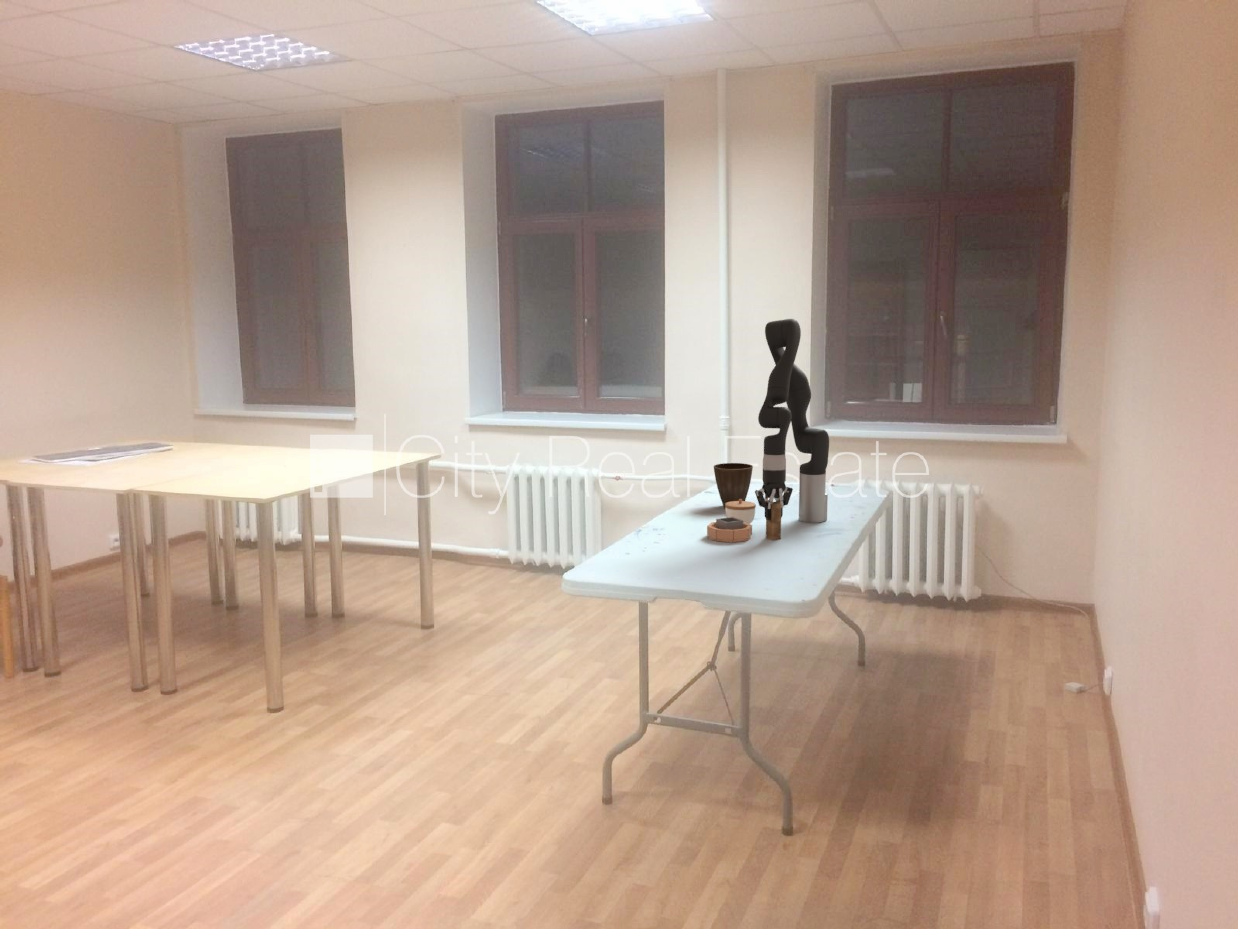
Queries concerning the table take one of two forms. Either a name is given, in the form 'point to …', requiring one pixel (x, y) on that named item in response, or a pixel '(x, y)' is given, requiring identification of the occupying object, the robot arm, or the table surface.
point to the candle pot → (729, 530)
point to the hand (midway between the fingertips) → (773, 518)
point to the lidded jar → (740, 510)
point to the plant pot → (733, 481)
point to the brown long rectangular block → (774, 522)
